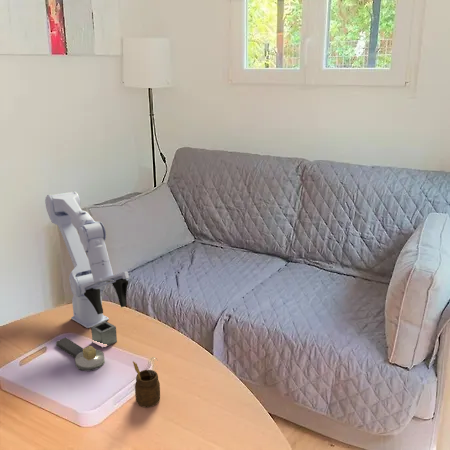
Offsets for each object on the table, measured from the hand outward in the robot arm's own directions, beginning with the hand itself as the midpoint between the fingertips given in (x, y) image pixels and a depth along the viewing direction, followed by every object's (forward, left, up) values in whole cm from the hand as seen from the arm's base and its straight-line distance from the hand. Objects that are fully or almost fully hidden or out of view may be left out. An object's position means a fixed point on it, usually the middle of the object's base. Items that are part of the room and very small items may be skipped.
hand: (112, 310), depth 144 cm
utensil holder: (+26, -10, -12) cm, 30 cm away
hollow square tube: (-4, -1, -11) cm, 12 cm away
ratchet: (-3, -10, -11) cm, 15 cm away
